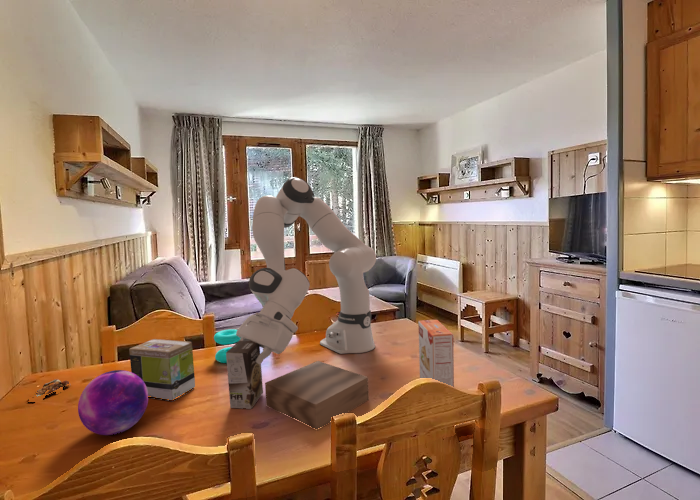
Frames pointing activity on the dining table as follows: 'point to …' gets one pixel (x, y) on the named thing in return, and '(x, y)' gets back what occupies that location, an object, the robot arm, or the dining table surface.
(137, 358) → the tea box
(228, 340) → the donuts
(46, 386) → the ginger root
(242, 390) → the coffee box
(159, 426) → the dining table surface
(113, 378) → the decorative orb
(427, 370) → the cracker box
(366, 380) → the walnut block
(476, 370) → the dining table surface
